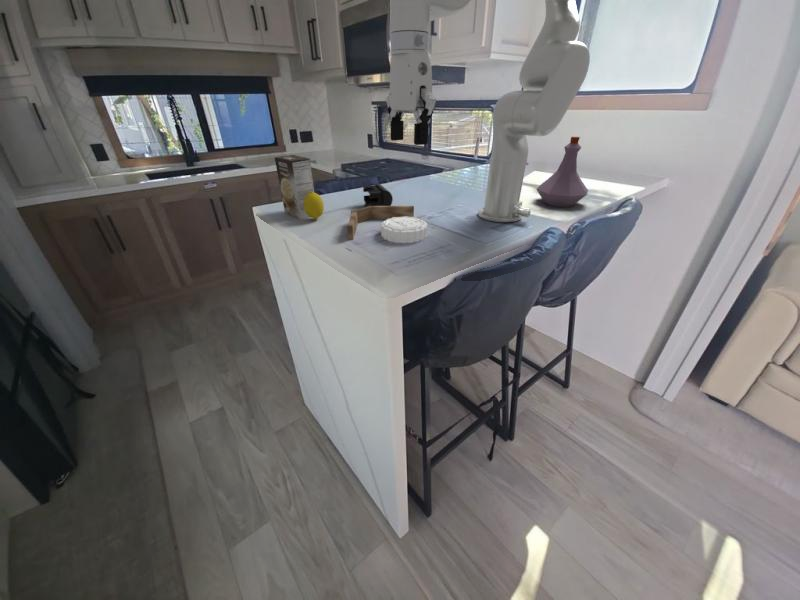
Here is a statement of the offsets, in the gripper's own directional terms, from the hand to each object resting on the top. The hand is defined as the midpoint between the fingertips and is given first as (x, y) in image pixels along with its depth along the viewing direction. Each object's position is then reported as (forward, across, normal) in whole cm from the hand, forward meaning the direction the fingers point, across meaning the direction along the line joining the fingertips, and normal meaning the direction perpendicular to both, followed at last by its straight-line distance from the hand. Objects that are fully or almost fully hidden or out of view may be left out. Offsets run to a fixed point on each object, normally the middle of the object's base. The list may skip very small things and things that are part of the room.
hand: (408, 142), depth 73 cm
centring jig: (+22, +12, +3) cm, 25 cm away
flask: (+22, -2, -60) cm, 64 cm away
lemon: (+22, +25, +16) cm, 37 cm away
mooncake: (+22, +1, 0) cm, 22 cm away
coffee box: (+22, +32, +18) cm, 43 cm away
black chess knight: (+22, +26, -5) cm, 34 cm away
